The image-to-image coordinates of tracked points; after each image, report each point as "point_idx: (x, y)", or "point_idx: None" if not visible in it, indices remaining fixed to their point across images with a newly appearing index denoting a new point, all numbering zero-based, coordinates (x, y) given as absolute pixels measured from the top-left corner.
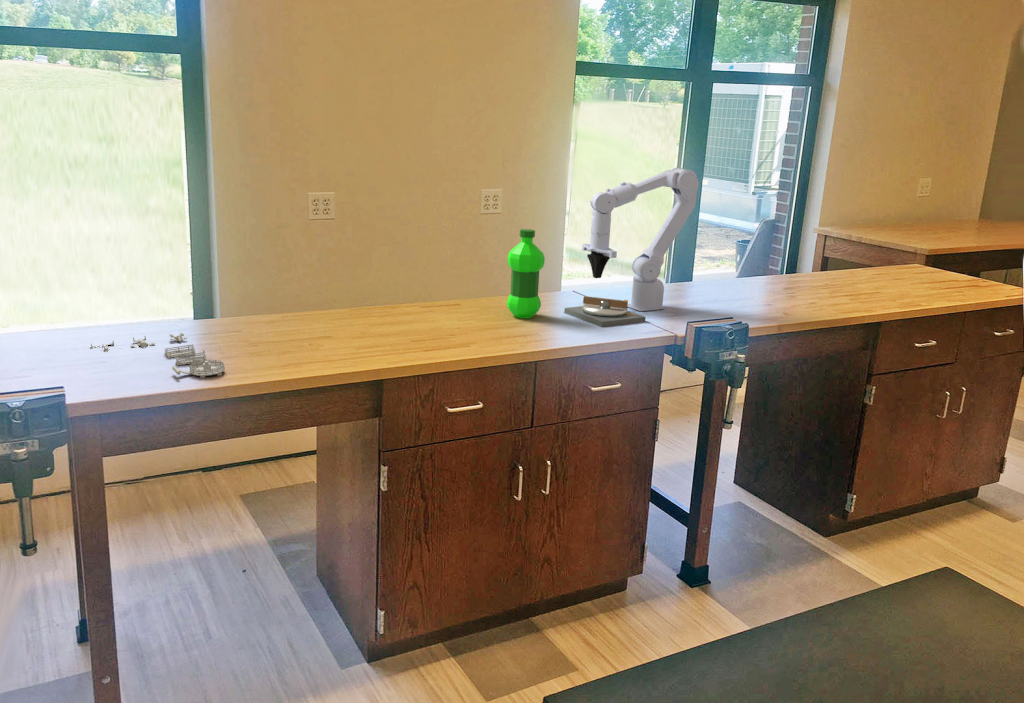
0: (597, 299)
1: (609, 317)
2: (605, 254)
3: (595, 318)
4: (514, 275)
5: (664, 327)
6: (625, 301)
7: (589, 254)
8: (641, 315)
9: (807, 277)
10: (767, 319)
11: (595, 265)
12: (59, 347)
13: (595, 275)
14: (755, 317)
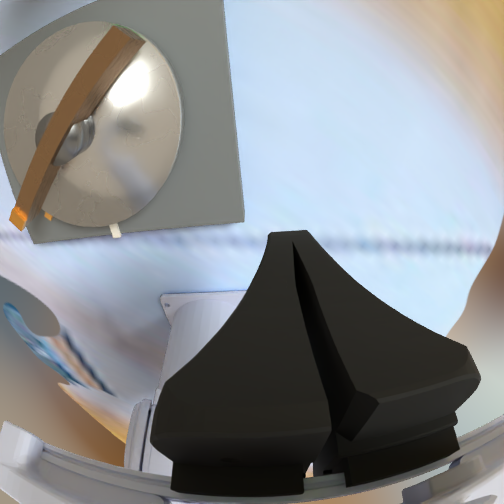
0: (65, 98)
1: None
2: (132, 487)
3: (16, 52)
4: None
5: (3, 248)
6: (12, 213)
7: (453, 400)
8: (45, 240)
9: (307, 476)
10: (105, 411)
11: (257, 305)
12: None
13: (269, 241)
14: (116, 410)
